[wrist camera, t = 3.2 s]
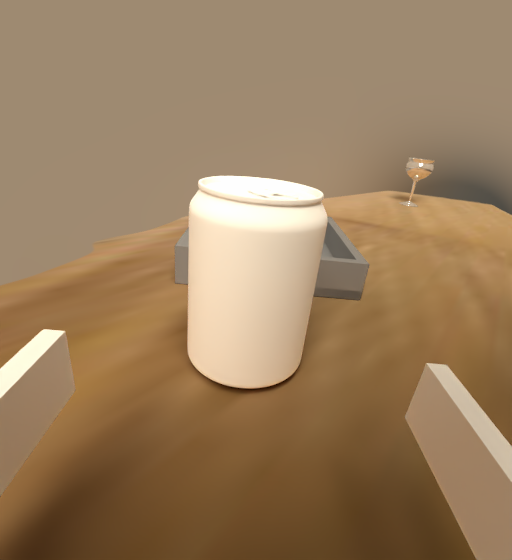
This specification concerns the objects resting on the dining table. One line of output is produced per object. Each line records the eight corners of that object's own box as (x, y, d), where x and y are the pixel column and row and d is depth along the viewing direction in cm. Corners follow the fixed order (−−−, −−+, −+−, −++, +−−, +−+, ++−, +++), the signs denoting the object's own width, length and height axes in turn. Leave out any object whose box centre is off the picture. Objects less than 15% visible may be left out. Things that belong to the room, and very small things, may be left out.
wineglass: (394, 203, 90) (406, 157, 85) (397, 200, 95) (409, 157, 90) (420, 208, 87) (435, 161, 82) (422, 205, 93) (436, 160, 88)
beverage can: (244, 314, 29) (257, 173, 24) (321, 359, 24) (358, 195, 19) (164, 350, 23) (159, 176, 18) (244, 418, 18) (268, 208, 13)
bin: (326, 242, 51) (331, 217, 49) (359, 300, 34) (369, 264, 32) (204, 230, 50) (205, 204, 49) (175, 283, 33) (174, 245, 31)
